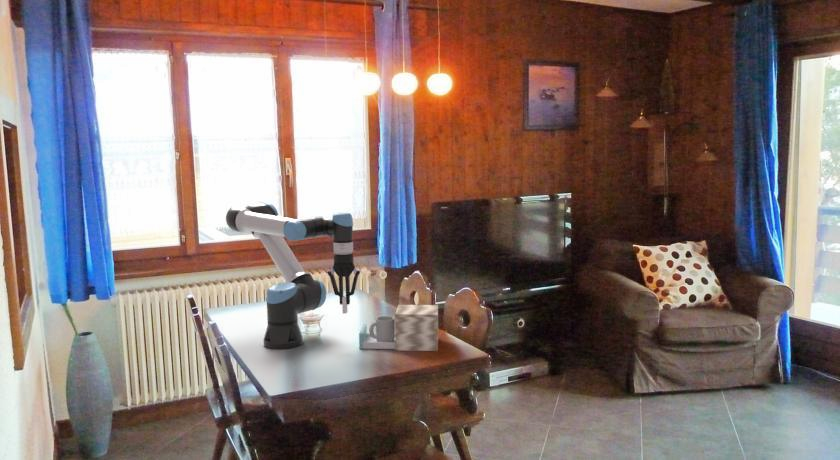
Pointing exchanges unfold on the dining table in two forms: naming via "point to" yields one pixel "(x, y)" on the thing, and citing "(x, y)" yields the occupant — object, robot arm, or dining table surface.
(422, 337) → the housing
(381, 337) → the cup
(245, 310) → the dining table surface
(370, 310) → the dining table surface
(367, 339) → the tray
